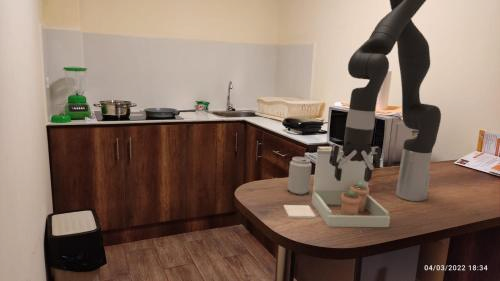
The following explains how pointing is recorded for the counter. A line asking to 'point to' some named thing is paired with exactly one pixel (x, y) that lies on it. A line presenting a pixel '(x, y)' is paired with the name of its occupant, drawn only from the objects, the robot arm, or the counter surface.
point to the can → (299, 175)
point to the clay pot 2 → (361, 194)
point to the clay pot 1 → (350, 203)
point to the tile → (299, 211)
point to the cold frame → (331, 190)
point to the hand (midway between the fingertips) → (352, 180)
